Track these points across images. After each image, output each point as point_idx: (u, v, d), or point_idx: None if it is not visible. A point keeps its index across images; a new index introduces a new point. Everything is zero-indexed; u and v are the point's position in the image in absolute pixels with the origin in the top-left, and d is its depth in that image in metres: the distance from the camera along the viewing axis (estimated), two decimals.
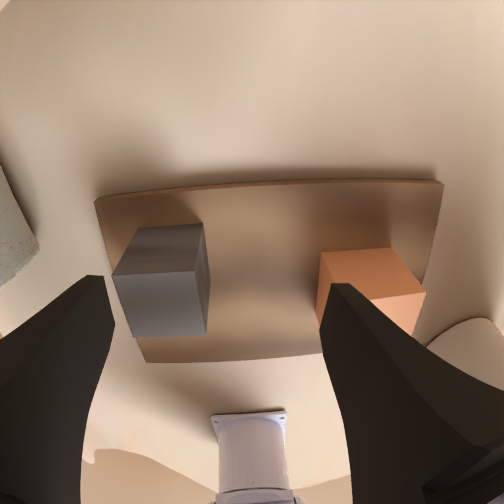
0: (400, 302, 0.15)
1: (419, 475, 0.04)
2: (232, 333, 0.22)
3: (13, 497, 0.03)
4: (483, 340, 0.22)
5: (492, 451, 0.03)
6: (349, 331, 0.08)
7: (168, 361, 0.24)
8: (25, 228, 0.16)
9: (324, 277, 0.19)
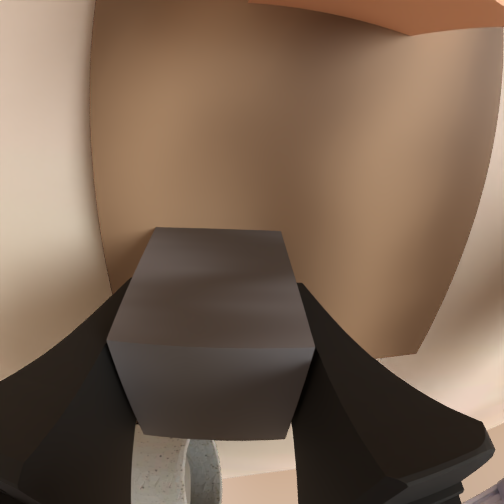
0: None
1: (343, 495, 0.04)
2: (416, 213, 0.10)
3: None
4: None
5: (413, 485, 0.03)
6: None
7: (427, 325, 0.13)
8: (157, 437, 0.14)
9: None
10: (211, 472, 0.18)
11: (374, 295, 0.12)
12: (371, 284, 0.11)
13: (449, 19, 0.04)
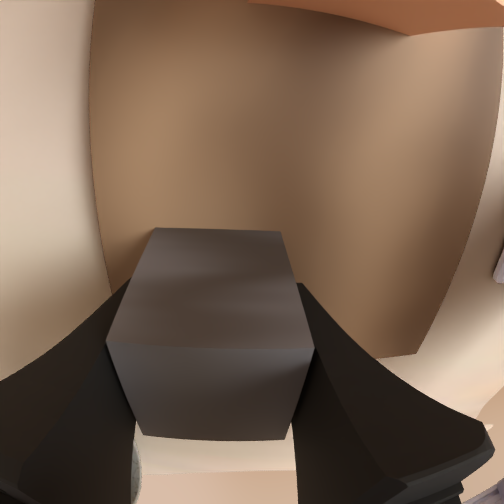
0: None
1: (342, 495, 0.04)
2: (416, 213, 0.10)
3: None
4: None
5: (413, 485, 0.03)
6: None
7: (427, 326, 0.13)
8: None
9: None
10: (132, 467, 0.17)
11: (374, 296, 0.12)
12: (371, 284, 0.11)
13: (449, 19, 0.04)
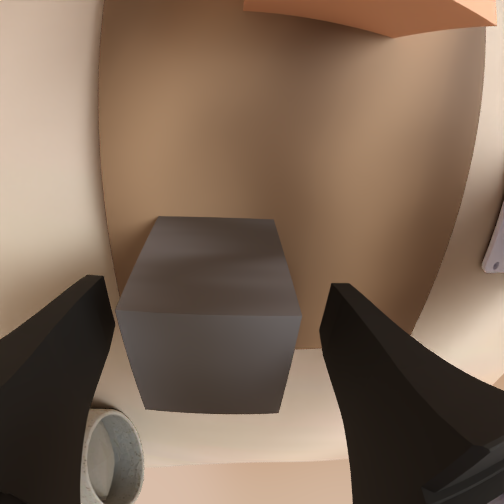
0: None
1: (419, 475, 0.04)
2: (401, 203, 0.11)
3: (13, 497, 0.03)
4: None
5: (492, 451, 0.03)
6: (349, 331, 0.08)
7: (417, 313, 0.14)
8: None
9: (284, 4, 0.06)
10: (135, 459, 0.18)
11: (364, 282, 0.12)
12: (360, 271, 0.12)
13: (424, 22, 0.05)
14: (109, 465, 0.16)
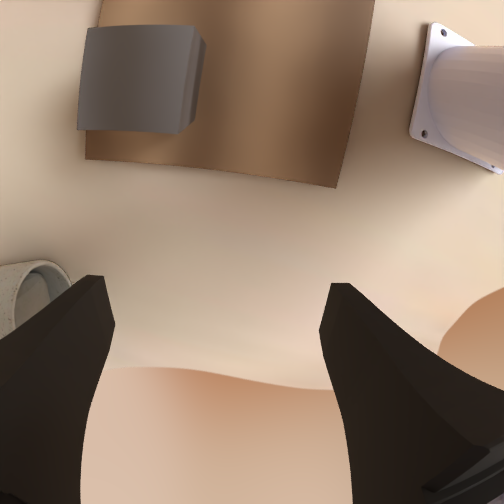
0: None
1: (419, 475, 0.04)
2: (307, 43, 0.13)
3: (13, 497, 0.03)
4: None
5: (492, 451, 0.03)
6: (349, 331, 0.08)
7: (340, 154, 0.16)
8: None
9: None
10: None
11: (280, 105, 0.14)
12: (276, 93, 0.14)
13: None
14: None
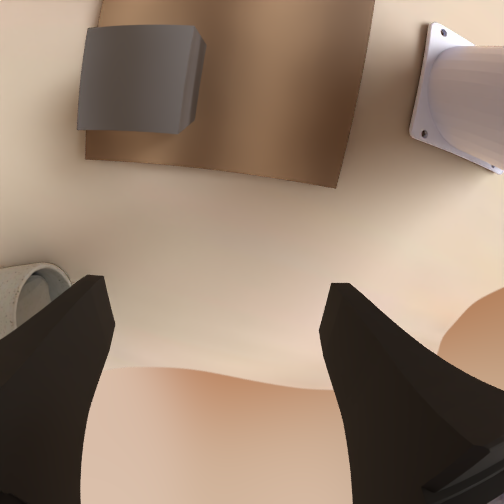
0: None
1: (419, 475, 0.04)
2: (307, 43, 0.13)
3: (13, 497, 0.03)
4: None
5: (492, 451, 0.03)
6: (349, 331, 0.08)
7: (340, 154, 0.16)
8: (22, 265, 0.16)
9: None
10: None
11: (280, 105, 0.14)
12: (276, 93, 0.14)
13: None
14: None
